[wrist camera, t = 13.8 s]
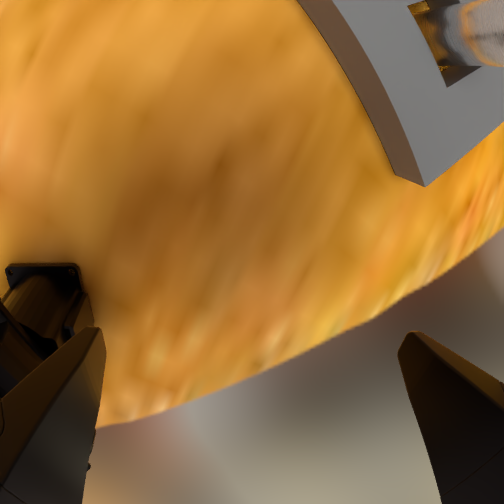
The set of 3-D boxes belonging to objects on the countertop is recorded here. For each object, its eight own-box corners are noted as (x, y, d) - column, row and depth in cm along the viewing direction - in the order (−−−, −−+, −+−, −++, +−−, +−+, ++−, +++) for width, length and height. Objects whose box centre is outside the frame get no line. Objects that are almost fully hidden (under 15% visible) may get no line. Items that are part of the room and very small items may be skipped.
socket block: (395, 174, 21) (425, 187, 18) (280, -21, 13) (299, -42, 10) (498, 96, 19) (525, 101, 16) (425, -55, 12) (451, -65, 9)
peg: (390, 40, 16) (517, 24, 6) (410, 4, 15) (524, -18, 5) (429, 77, 18) (550, 88, 8) (446, 41, 16) (557, 41, 7)
